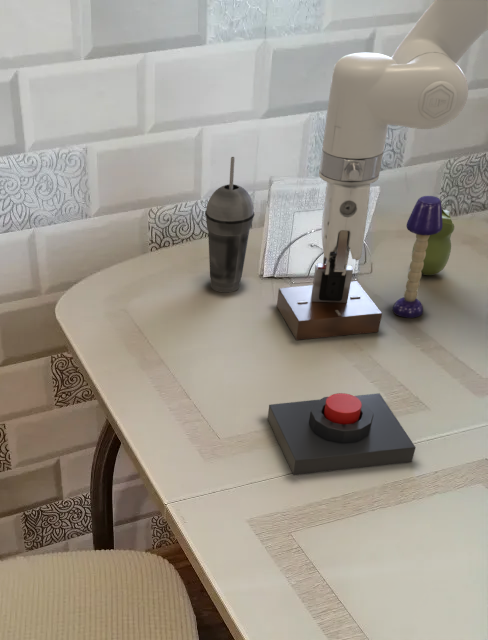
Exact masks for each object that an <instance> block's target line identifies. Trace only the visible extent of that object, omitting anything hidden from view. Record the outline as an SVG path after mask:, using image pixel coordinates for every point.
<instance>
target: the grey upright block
mask: <svg viewBox="0 0 488 640" xmlns="http://www.w3.org/2000/svg"><path fill="white" fill-rule="evenodd" d="M325 266H326V264H323V263H321V262H319V263H318V262H317V263H316V264H315V267H314V273H313V282H312V285H313V287H312V295H311V300H312V302H337V303H347V301H348V296H349V290H350V284H351V282H352V279H353V274H354V273H353V272H354V270H353V269H354V268H353V265H347V268H346V279H345V285H344V291H343V297H342V300H341V301H325V300H320V299H319V292H320V285H321V278H322V272H325Z"/></svg>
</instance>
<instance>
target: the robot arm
mask: <svg viewBox="0 0 488 640" xmlns="http://www.w3.org/2000/svg"><path fill="white" fill-rule="evenodd" d="M487 31H488V0H433V1H432V3H430V5H429V6H428V7H427V8H426V9H425V11H424V12H423V13H422V15H420V17H419V19H418V20H417V21H416V22H415V24H414V25H413V26H412V27H411V29H410V30H409V31H408V33H407V34H406V35H405V37H404V38H403V39H402V40H401V42H400V43H399V45H398V46H397V48H396V49H395V50H394V52H393V54H392V56H391V57H390V56H389V55H386V54H382V53H377V52H355V53H349V54H346V55H344V56H342V57H341V58H339V59H338V60H337V61H336V62H335V64H334V66H333V69H332V75H331V81H330V88H329V96H328V104H327V110H326V119H325V126H324V134H323V142H322V149H321V155H320V156H321V157H320V162H319V171H318V177H319V178H320V179H321V180H323V181H324V182H325V183H326V186H325V192H324V199H323V208H322V216H321V217H322V219H321V245H322V253H323V260H322V264H325V265H326V266H325V272H322V278H321V285H320V292H319V299H320V300H325V301H341V300H342V297H343V291H344V285H345V279H346V268H347V266H348V264H349V263H348V262H349V258H350V257H349V256H350V255H351V259H352V260H355V261H359V260H360V259H362V254H363V248H364V241H365V239H364V238H365V233H366V226H367V219H368V211H369V204H370V194H371V193H370V192H371V184H374V183H376V182H377V181H378V180H379V178H380V172H381V167H382V162H383V156H384V150H385V146H386V140H387V134H388V129H389V125H390V126H395V127H396V126H397V127H404V128H409V129H415V130H434V129H438V128H442V127H444V126H447V125H448V124H449V123H451V122H453V121H454V120H455V119H457V117H458V116H460V114H461V113H462V111H463V109H465V108H464V107H465V106H466V104H467V100H468V96H469V85H468V84H469V83H468V80H467V76H466V75H465V73H464V72H463V70H462V69H461V68H460V66H459V65H458V64H457V63H458V62H459V61H460V60H461V58H462V57H463V56H464V55H465V53H467V52H468V50H469V49H470V48H471V47H472V45H473V44H474V43H476V42H477V40H479V38H480V37H481V36H483V34H485V32H487Z"/></svg>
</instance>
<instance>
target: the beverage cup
mask: <svg viewBox="0 0 488 640" xmlns="http://www.w3.org/2000/svg"><path fill="white" fill-rule="evenodd" d="M235 159H236V157H235V156H231V157H230V165H229V166H230V167H229V168H230V169H229V184H224V185H222V186H220V187H218V188H217V189H215V191H213V193H212V194H211V195H210V197H209V199H208V201H207V205H206V210H205V213H204V216H205V218H206V219H205V220H206V227H207V237H208V257H209V258H208V259H209V261H208V262H209V277H210V287H211V288H212V290H213V291H215V292H219V293H232V292H236V291H237V290H239V289H240V287H241V281H242V277H243V272H244V265H245V260H246V254H247V247H248V241H249V236H250V235H249V234H250V230H251V228H252V226H253V225H252V224H253V221H254V217H255V208H254V203H253V199H252V197H251V195H250V193H249V192H248V190H246V189H245V188H244V187H242V186H240V185H238V184H234V177H235V176H234V175H235V174H234V173H235Z"/></svg>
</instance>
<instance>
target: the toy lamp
mask: <svg viewBox="0 0 488 640" xmlns="http://www.w3.org/2000/svg"><path fill="white" fill-rule="evenodd" d="M442 207H443V206H442V201H441V199H440V197H437V196H434V195H423V196H421V197H419V198H418V199H417V200H416V202H415V205H414V206H413V208H412V211H411V213H410V214H409V217H408V219H407V222H406V229H407V231H409V232H411V233H412V234H415V238H416V239H415V241H414V243H413V246H414V249H415V250H414V251H413V254H412V253H411V261H410V264H409V269H410V270H409V271H408V274H407V279H408V280H407V281H406V284H405V291H404V293H403V297H400V298H399V299H397V300H396V301H395V303H393V306H392V311H393V313H394V314H395V315H396V316H399V317H401V318H406V319H407V318H408V319H415V318H418V317H420V316H421V315H422V314H423V313H424V306H423V304H422V302H421V301H420V300H419V299H418V298H417V297H418V290H419V288H420V280H421V279H422V275H423V274H422V273H421V270H422V269H423V266H424V262H423V260H424V259H425V256H426V251H425V250H426V249H427V246H428V239H429V237H430V235H433V234H437V233H439V232H440V231H441V230H442V210H443V208H442ZM412 259H413V260H412Z"/></svg>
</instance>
